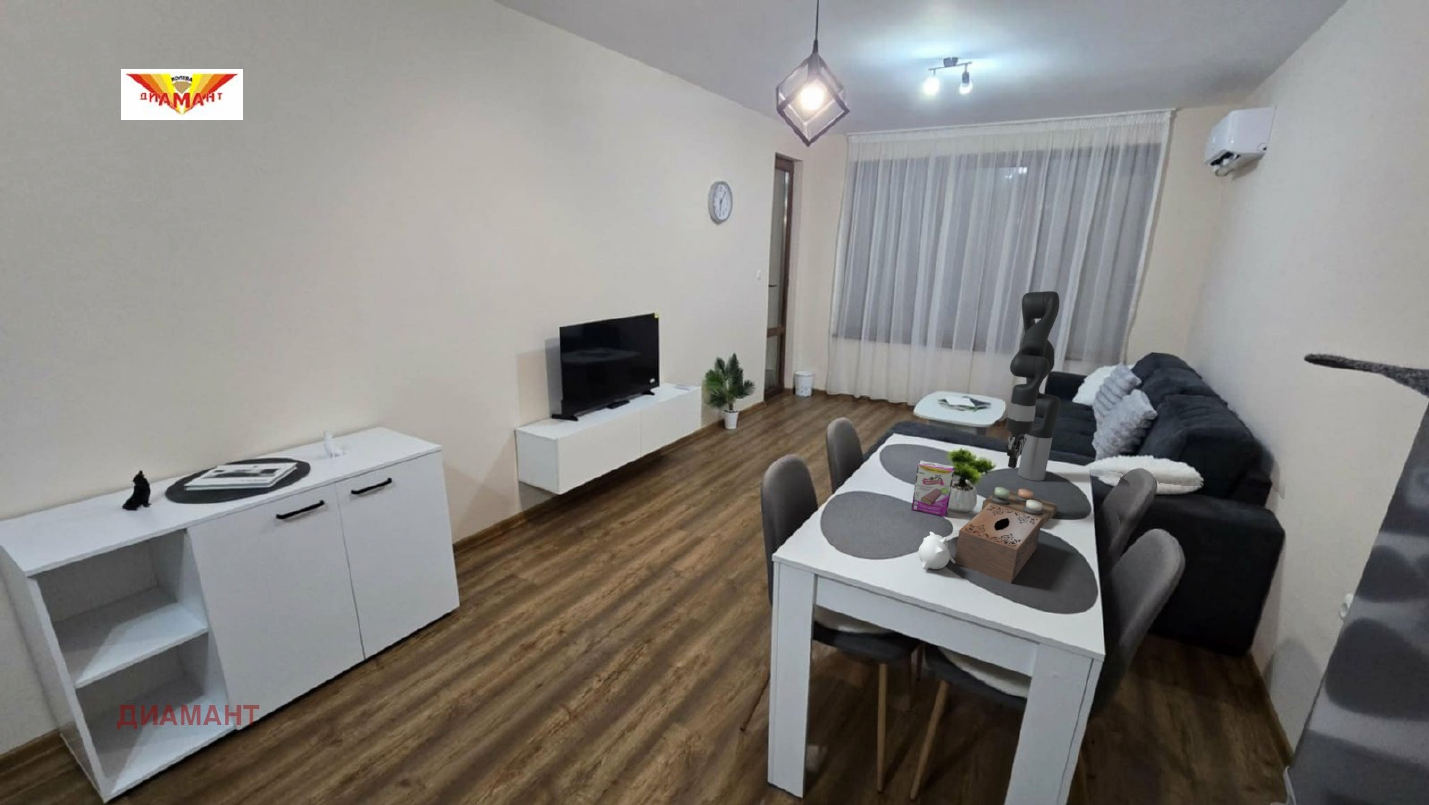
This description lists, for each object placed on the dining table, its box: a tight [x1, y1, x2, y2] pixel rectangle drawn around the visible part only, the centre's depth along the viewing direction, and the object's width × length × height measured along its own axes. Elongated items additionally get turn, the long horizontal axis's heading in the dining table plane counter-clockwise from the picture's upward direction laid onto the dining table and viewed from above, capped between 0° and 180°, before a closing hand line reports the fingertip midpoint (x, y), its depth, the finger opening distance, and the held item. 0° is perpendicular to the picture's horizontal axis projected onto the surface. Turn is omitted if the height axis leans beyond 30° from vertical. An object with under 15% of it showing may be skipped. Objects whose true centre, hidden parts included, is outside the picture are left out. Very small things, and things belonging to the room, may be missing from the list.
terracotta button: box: [1017, 488, 1034, 500], centre depth 190 cm, size 4×4×2 cm
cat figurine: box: [917, 531, 956, 570], centre depth 152 cm, size 9×11×12 cm
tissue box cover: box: [954, 503, 1042, 584], centre depth 158 cm, size 26×14×10 cm, turn 138°
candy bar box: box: [911, 460, 956, 518], centre depth 184 cm, size 11×5×16 cm, turn 65°
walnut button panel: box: [981, 490, 1059, 529], centre depth 188 cm, size 17×18×4 cm
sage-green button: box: [993, 486, 1011, 498], centre depth 188 cm, size 4×4×2 cm
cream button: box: [1026, 500, 1042, 511], centre depth 181 cm, size 4×4×2 cm
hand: (1011, 467), depth 184 cm, fingers closed
